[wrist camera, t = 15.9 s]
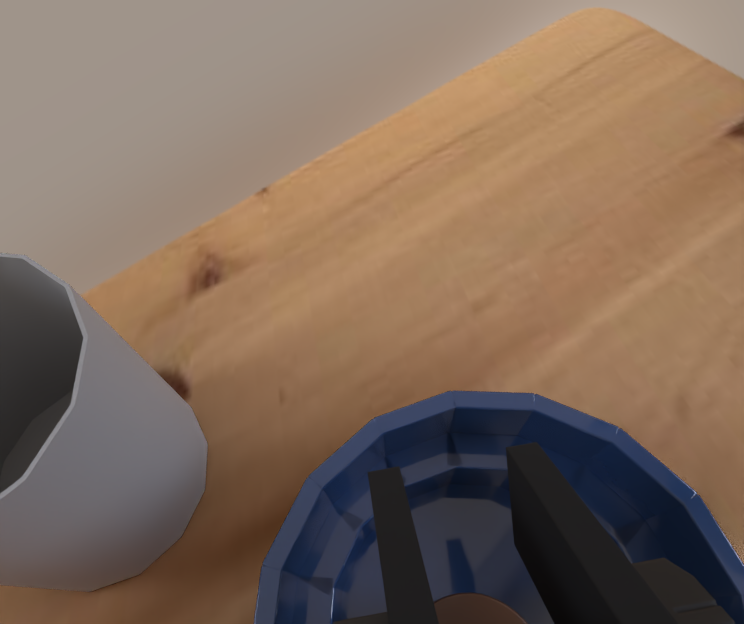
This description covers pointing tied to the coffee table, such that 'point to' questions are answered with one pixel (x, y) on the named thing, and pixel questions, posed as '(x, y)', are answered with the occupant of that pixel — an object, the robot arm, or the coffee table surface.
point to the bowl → (480, 509)
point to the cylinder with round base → (475, 610)
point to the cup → (84, 443)
